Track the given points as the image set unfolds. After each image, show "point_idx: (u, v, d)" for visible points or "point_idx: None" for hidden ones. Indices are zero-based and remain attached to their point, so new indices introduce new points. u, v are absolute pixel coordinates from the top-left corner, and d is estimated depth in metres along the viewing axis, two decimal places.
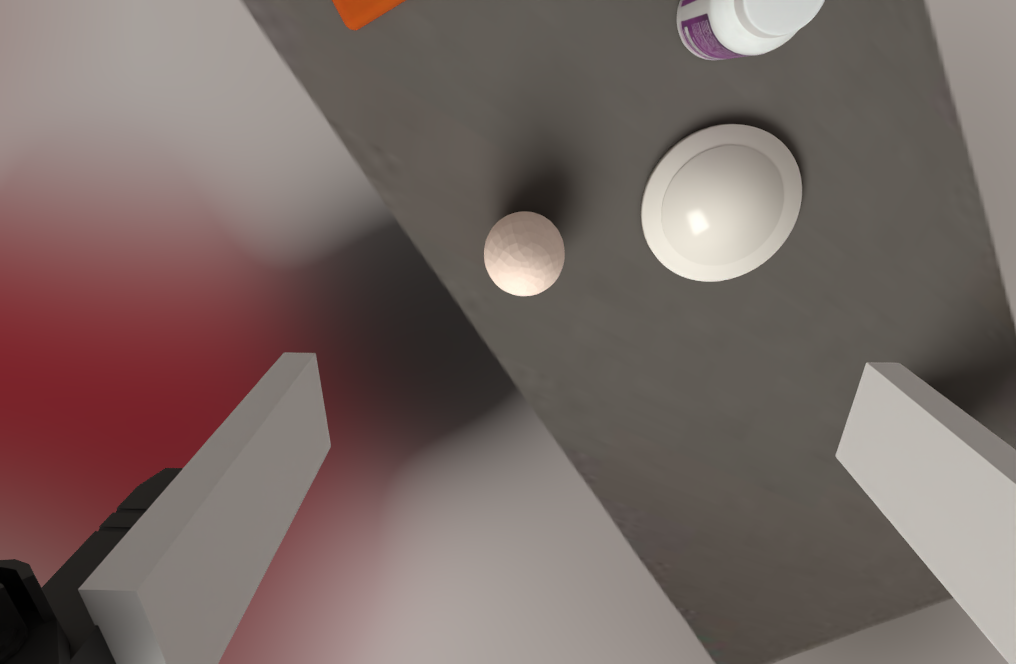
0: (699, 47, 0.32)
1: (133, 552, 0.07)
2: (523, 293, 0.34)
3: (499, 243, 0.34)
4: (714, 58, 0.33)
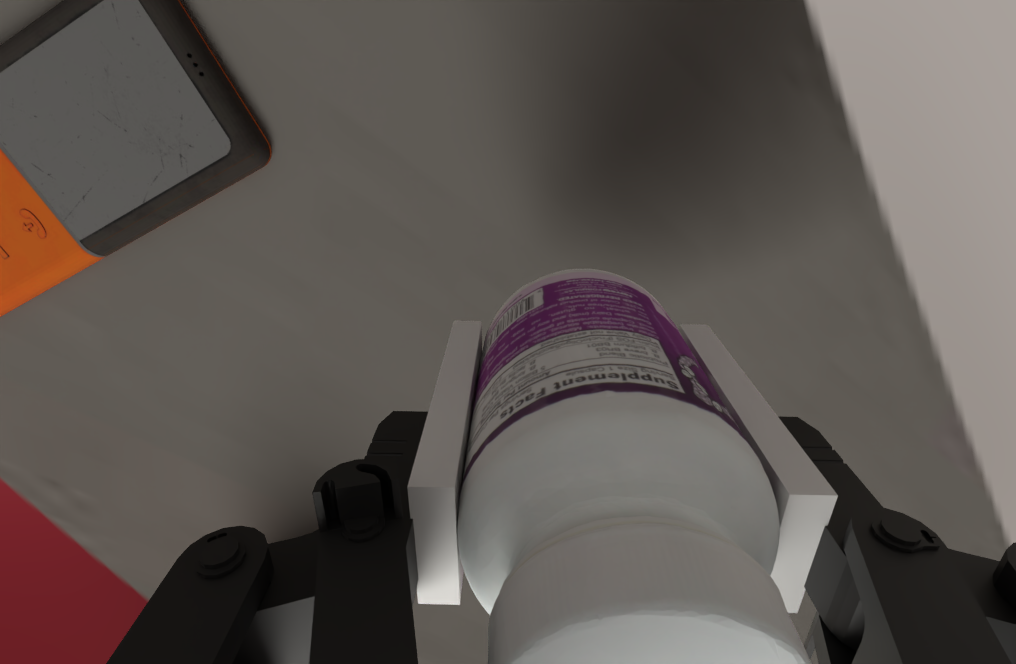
0: None
1: (432, 463, 0.09)
2: None
3: None
4: None
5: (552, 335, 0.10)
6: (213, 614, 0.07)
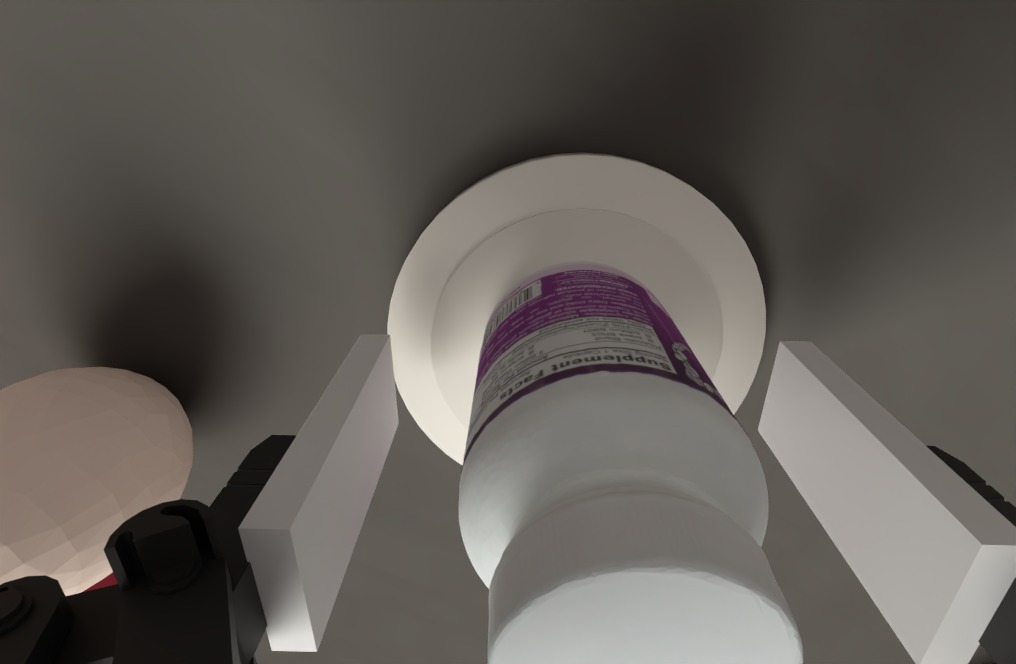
0: None
1: (276, 499, 0.08)
2: None
3: None
4: None
5: (550, 323, 0.11)
6: None
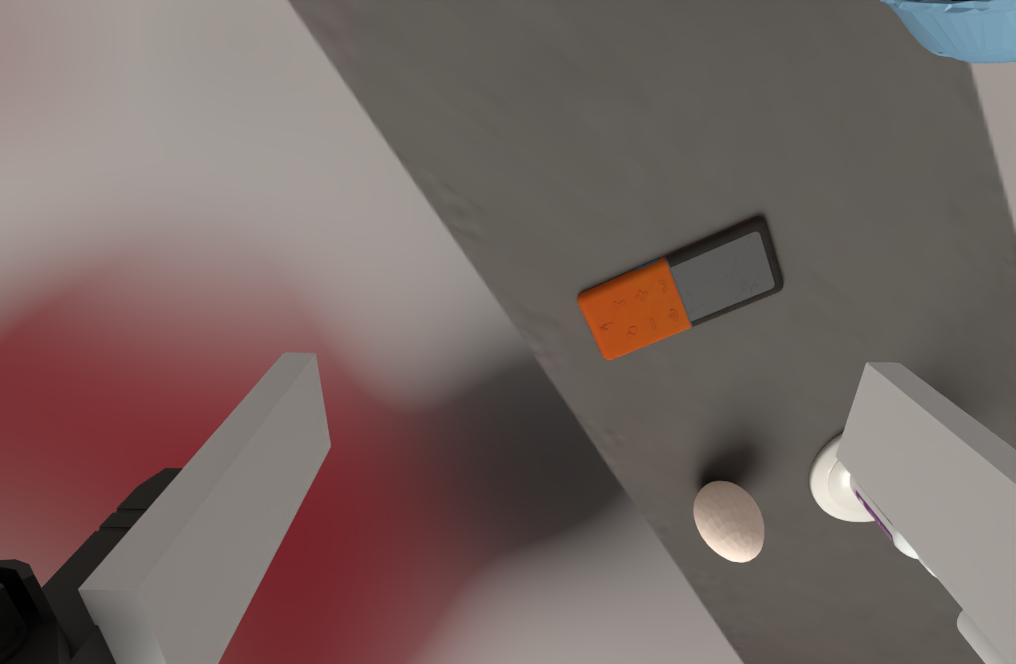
0: None
1: (133, 552, 0.07)
2: None
3: (721, 527, 0.44)
4: None
5: None
6: None
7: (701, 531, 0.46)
